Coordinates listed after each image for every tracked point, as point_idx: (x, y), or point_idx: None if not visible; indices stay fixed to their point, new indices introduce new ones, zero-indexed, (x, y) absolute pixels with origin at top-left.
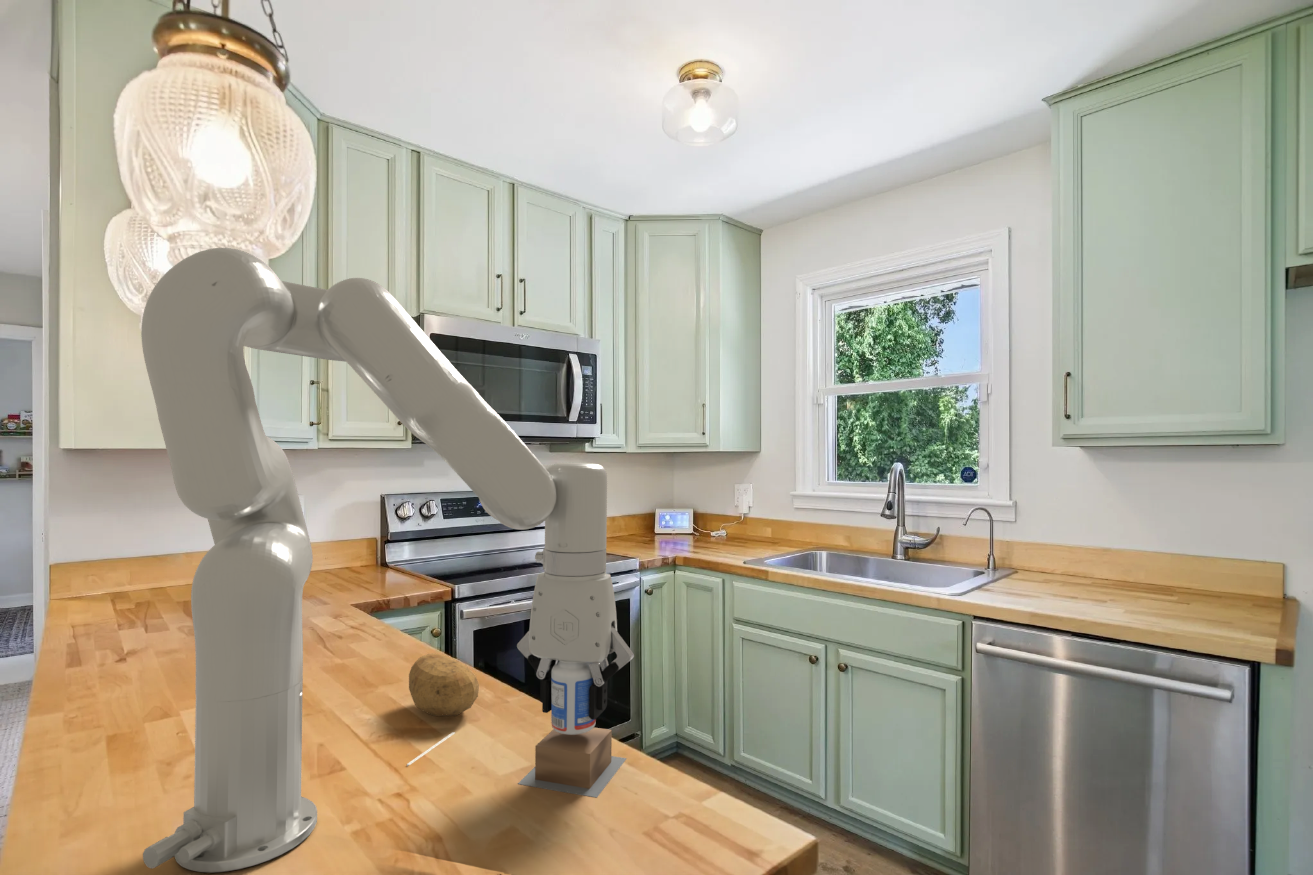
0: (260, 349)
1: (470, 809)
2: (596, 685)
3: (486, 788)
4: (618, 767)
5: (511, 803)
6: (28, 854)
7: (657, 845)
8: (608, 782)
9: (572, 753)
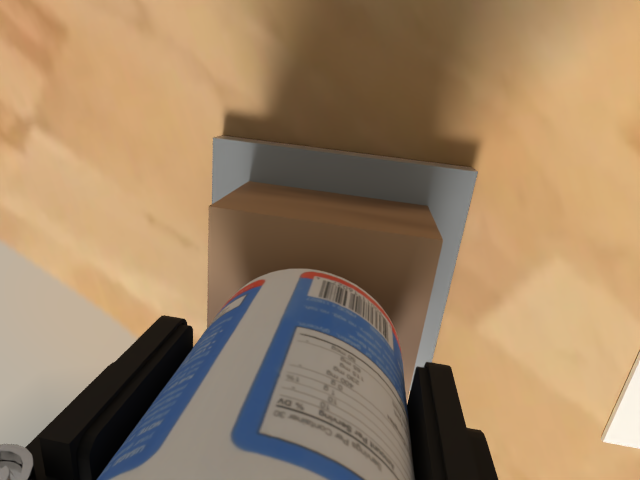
0: None
1: (601, 35)
2: (26, 451)
3: (580, 173)
4: None
5: (472, 101)
6: None
7: None
8: None
9: (282, 214)
